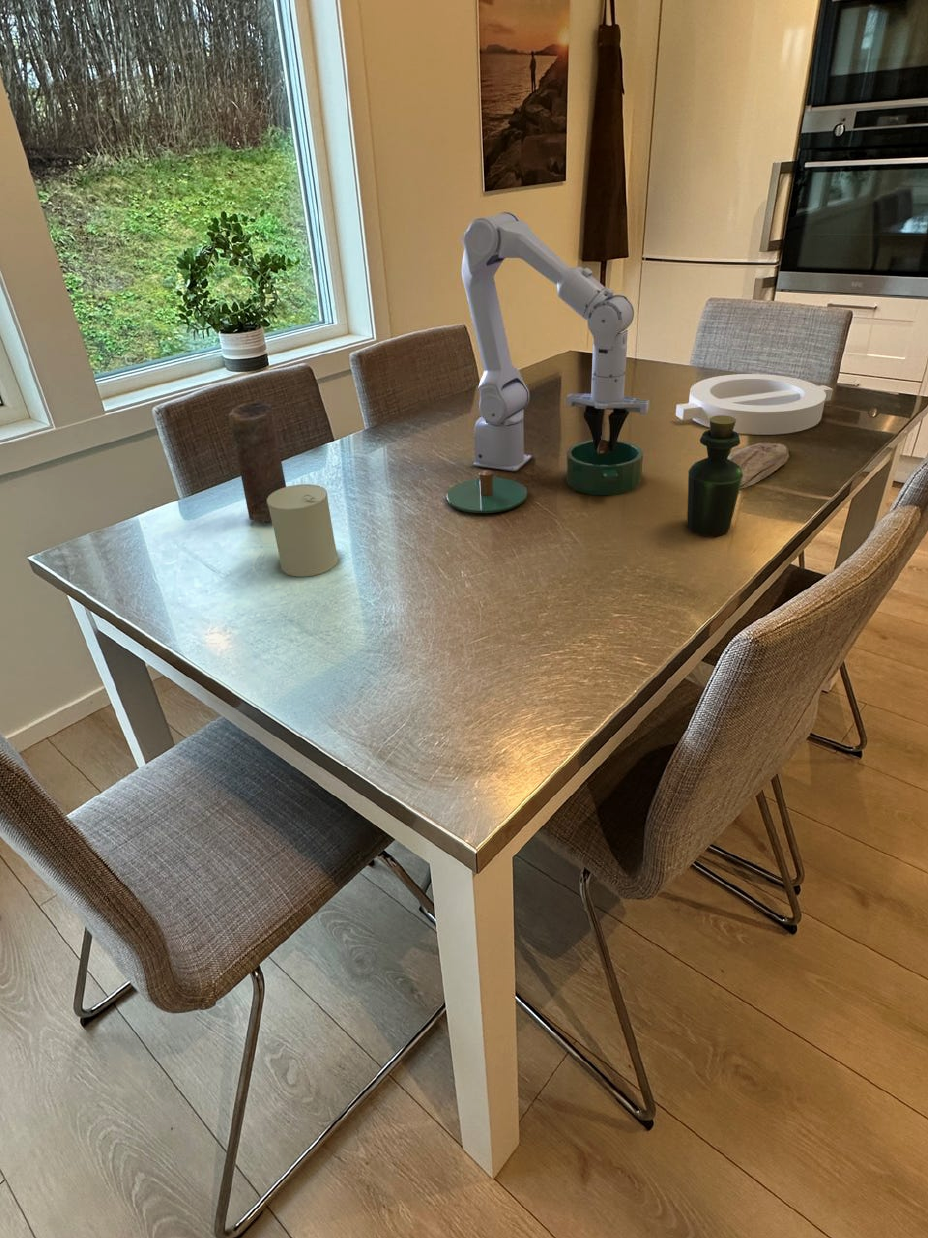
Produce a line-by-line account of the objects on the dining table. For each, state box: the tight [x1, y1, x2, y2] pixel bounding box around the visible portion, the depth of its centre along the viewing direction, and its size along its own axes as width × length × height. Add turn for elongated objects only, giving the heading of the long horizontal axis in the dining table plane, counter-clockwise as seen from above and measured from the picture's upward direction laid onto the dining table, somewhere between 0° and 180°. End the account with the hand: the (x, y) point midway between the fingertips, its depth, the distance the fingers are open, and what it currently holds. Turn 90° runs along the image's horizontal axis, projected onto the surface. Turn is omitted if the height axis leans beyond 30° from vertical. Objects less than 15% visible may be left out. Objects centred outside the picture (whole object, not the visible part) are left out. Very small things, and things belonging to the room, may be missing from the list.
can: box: [267, 483, 340, 578], centre depth 115 cm, size 9×9×12 cm
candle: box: [228, 401, 287, 524], centre depth 128 cm, size 8×7×20 cm
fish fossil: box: [727, 442, 790, 490], centre depth 140 cm, size 26×10×1 cm, turn 143°
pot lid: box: [446, 469, 528, 514], centre depth 134 cm, size 15×15×5 cm
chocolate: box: [597, 432, 610, 456], centre depth 135 cm, size 3×2×4 cm
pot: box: [566, 437, 644, 496], centre depth 138 cm, size 14×19×6 cm
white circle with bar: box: [675, 373, 834, 436], centre depth 164 cm, size 28×28×5 cm
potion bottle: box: [686, 416, 743, 537], centre depth 116 cm, size 8×8×18 cm
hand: (604, 448), depth 136 cm, fingers closed on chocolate, 2 cm apart
